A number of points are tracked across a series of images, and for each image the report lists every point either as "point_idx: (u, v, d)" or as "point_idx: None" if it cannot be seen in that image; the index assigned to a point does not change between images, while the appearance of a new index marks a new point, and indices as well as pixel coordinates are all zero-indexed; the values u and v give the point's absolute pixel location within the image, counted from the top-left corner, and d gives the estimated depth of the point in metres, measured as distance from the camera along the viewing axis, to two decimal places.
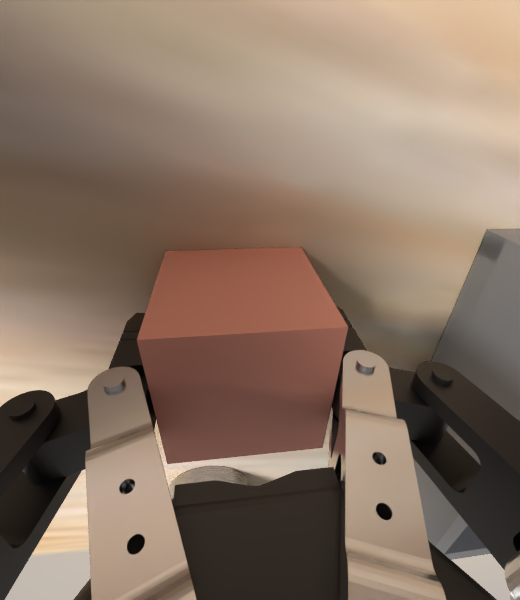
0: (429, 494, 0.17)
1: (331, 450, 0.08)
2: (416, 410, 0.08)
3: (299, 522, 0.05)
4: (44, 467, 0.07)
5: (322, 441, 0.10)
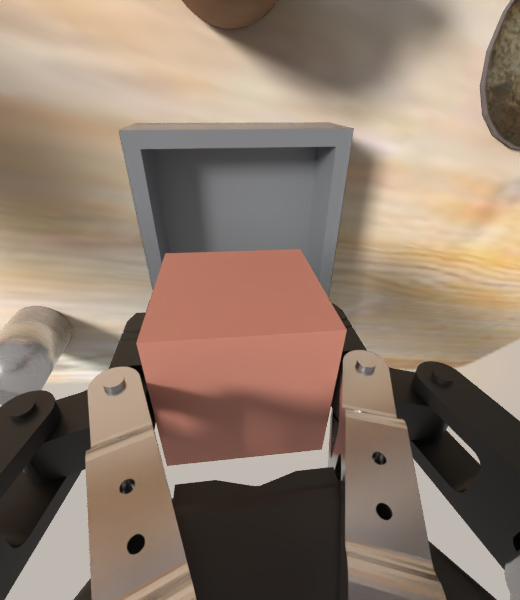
0: None
1: (331, 450, 0.08)
2: (416, 410, 0.08)
3: (299, 522, 0.05)
4: (44, 467, 0.07)
5: (321, 443, 0.10)
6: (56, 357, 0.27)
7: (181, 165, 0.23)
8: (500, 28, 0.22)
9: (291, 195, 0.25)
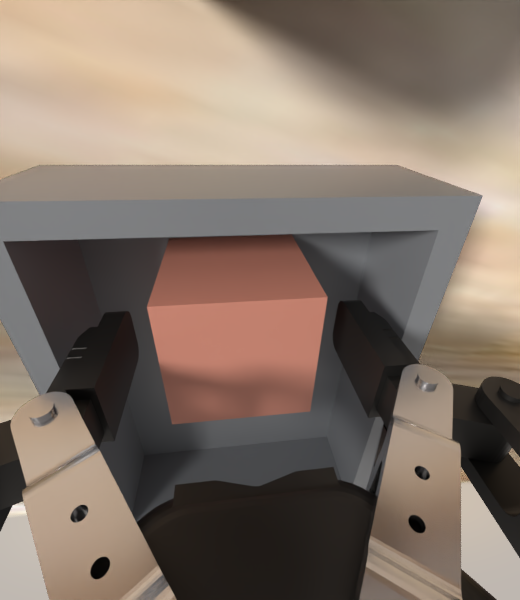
0: None
1: (375, 460, 0.08)
2: (483, 429, 0.08)
3: (299, 522, 0.05)
4: None
5: (309, 405, 0.11)
6: None
7: (129, 241, 0.12)
8: None
9: (325, 284, 0.15)
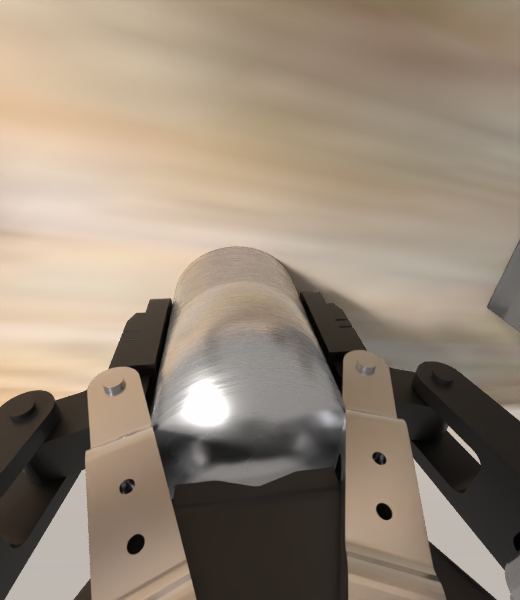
0: None
1: None
2: (416, 410, 0.08)
3: (299, 522, 0.05)
4: (44, 467, 0.07)
5: None
6: None
7: None
8: None
9: None
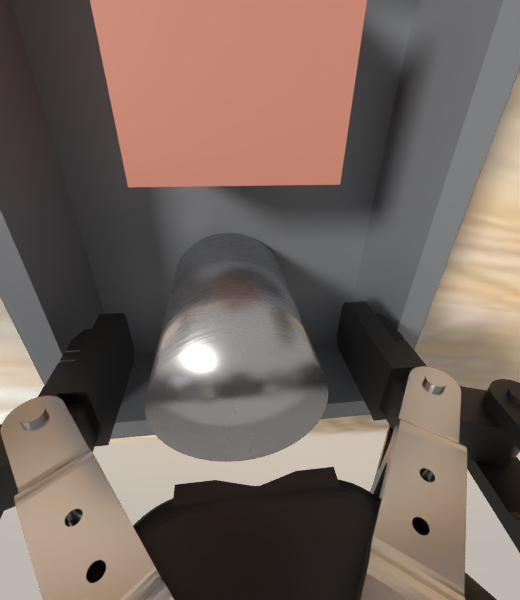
0: None
1: (381, 462, 0.08)
2: (491, 433, 0.08)
3: (299, 522, 0.05)
4: None
5: (340, 169, 0.07)
6: None
7: None
8: None
9: None
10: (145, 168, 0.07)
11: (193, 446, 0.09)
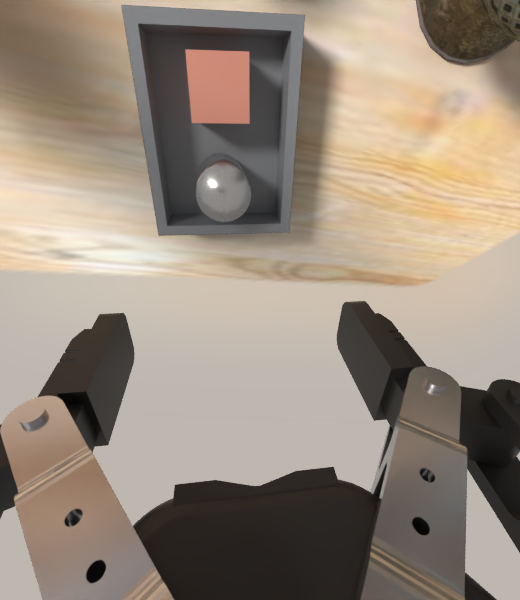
0: None
1: (381, 462, 0.08)
2: (491, 433, 0.08)
3: (299, 522, 0.05)
4: None
5: (249, 119, 0.27)
6: None
7: (172, 57, 0.28)
8: None
9: (262, 91, 0.31)
10: (196, 117, 0.27)
11: (210, 212, 0.29)
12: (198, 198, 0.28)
